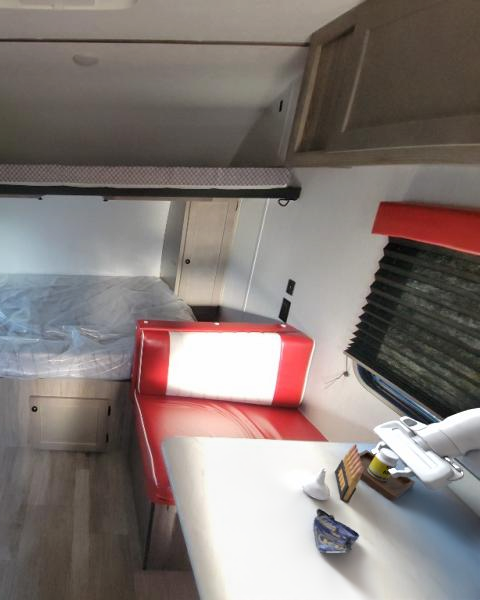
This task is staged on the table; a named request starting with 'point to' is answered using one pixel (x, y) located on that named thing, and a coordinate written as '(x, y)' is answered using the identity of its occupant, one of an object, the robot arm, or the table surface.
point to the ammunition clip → (349, 474)
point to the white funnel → (316, 486)
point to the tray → (386, 488)
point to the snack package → (332, 534)
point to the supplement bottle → (383, 464)
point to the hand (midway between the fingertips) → (381, 463)
